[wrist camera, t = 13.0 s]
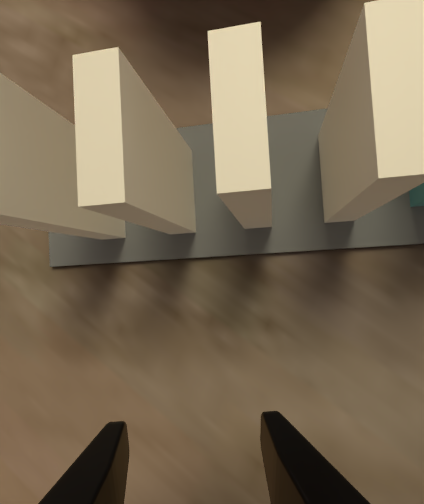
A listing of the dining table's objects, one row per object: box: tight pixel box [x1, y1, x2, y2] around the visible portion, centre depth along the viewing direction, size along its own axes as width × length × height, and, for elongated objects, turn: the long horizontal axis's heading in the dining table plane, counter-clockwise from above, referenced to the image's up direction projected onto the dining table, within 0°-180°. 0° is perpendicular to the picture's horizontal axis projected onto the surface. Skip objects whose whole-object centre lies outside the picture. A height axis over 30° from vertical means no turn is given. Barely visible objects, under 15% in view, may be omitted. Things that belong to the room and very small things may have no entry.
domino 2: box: [73, 47, 196, 234], centre depth 16 cm, size 2×5×10 cm, turn 3°
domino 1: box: [0, 73, 126, 240], centre depth 17 cm, size 2×5×10 cm, turn 3°
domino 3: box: [208, 22, 272, 229], centre depth 15 cm, size 2×5×10 cm, turn 3°
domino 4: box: [318, 0, 424, 223], centre depth 14 cm, size 2×5×10 cm, turn 3°
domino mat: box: [49, 109, 424, 267], centre depth 20 cm, size 8×27×1 cm, turn 93°
